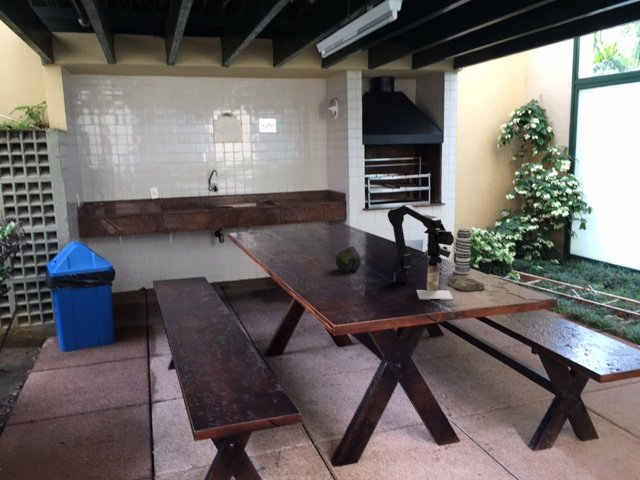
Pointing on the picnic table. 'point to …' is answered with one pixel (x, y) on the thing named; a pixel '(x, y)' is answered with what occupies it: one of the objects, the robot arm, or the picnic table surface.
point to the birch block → (432, 278)
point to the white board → (434, 294)
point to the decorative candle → (463, 251)
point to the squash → (348, 260)
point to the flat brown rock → (465, 283)
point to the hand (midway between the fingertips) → (432, 273)
